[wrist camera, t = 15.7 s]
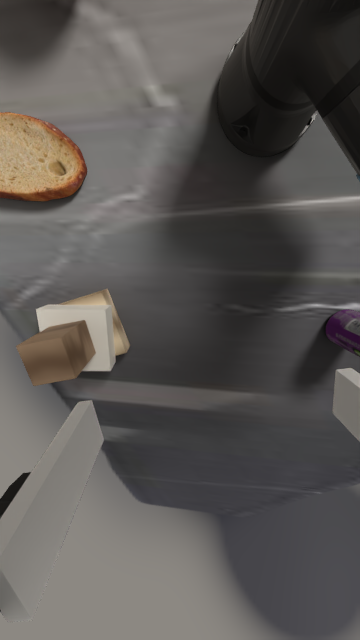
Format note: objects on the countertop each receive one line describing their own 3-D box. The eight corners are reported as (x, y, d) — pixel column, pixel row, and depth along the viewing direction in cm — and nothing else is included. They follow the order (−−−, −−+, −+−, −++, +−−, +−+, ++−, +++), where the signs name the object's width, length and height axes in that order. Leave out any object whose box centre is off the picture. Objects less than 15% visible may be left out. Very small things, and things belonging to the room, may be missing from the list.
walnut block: (49, 326, 36) (15, 346, 29) (85, 319, 36) (60, 337, 28) (61, 359, 38) (33, 386, 30) (96, 352, 38) (76, 378, 30)
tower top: (48, 304, 39) (35, 309, 35) (111, 305, 39) (105, 309, 36) (57, 361, 42) (46, 370, 39) (115, 361, 42) (110, 371, 39)
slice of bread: (-58, 174, 36) (-83, 165, 33) (-2, 70, 33) (-24, 48, 29) (38, 251, 40) (24, 251, 36) (98, 166, 36) (89, 156, 33)
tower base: (50, 306, 43) (38, 311, 39) (108, 288, 42) (101, 291, 38) (76, 360, 46) (67, 369, 42) (130, 344, 46) (126, 352, 42)
